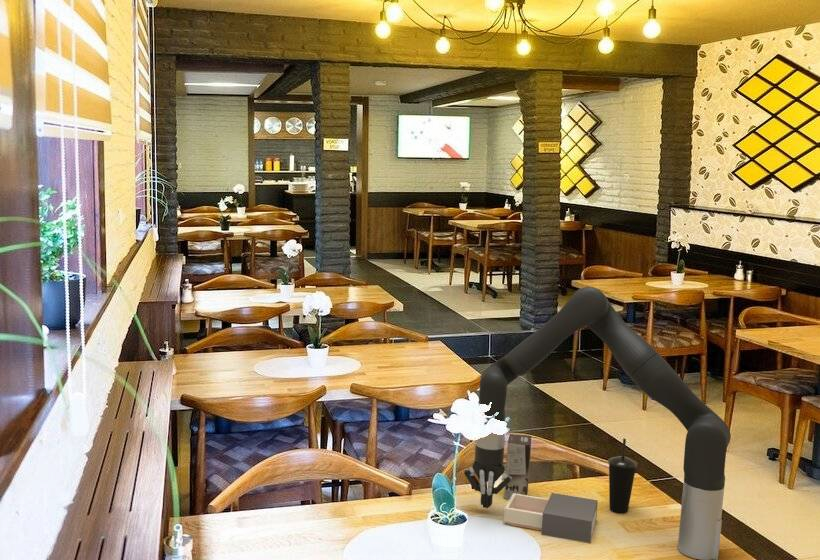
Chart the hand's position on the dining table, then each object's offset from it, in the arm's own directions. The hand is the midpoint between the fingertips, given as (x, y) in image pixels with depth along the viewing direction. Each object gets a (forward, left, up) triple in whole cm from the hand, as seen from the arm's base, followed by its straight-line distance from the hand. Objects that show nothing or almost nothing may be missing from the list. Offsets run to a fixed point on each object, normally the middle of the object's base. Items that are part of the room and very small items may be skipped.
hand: (486, 506), depth 215 cm
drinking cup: (-33, -17, -2) cm, 37 cm away
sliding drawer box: (-17, 0, -2) cm, 17 cm away
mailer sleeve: (-22, 0, -2) cm, 22 cm away
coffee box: (-5, -16, -2) cm, 17 cm away
